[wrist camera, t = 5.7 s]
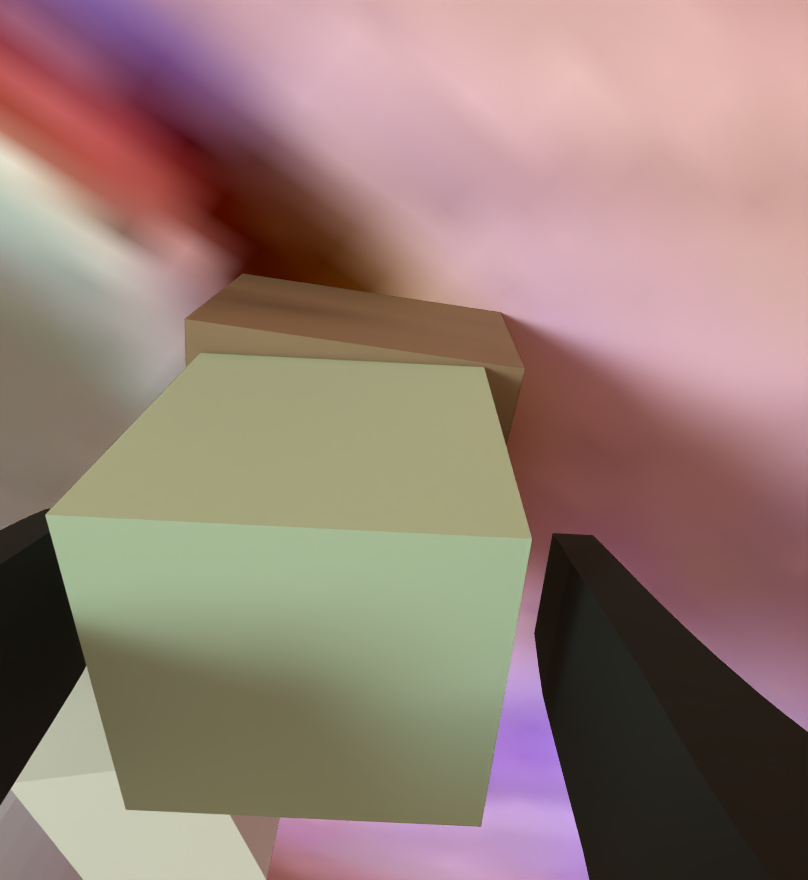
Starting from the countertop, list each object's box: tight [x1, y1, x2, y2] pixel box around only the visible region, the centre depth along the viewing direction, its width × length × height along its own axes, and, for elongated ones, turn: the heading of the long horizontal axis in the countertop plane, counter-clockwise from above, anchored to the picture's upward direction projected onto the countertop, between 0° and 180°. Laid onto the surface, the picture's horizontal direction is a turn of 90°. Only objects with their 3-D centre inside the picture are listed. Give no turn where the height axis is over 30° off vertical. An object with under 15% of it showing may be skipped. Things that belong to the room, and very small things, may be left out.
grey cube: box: [11, 666, 280, 880], centre depth 18 cm, size 5×5×5 cm
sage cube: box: [45, 353, 532, 827], centre depth 10 cm, size 5×5×5 cm
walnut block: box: [185, 274, 525, 444], centre depth 14 cm, size 6×6×4 cm
